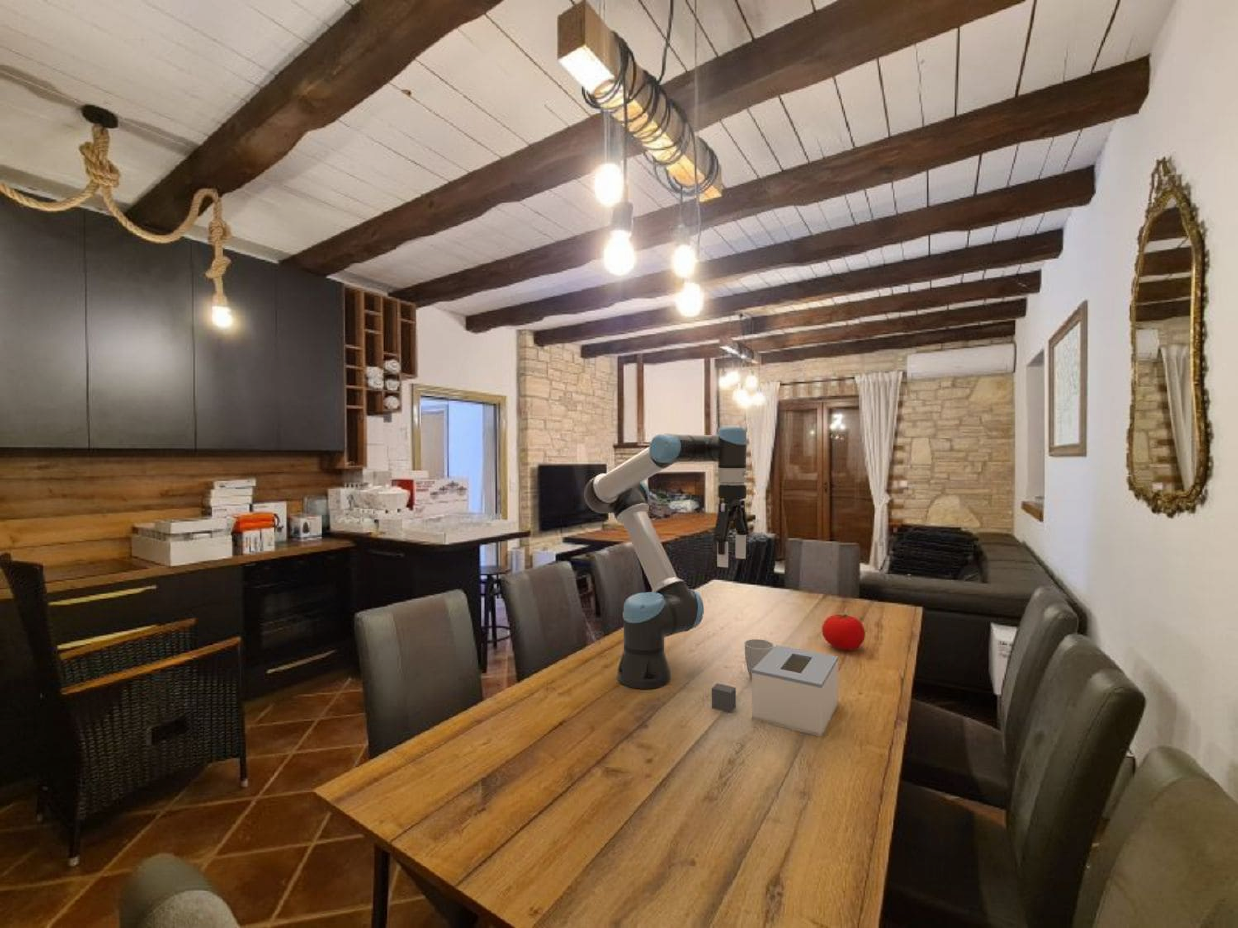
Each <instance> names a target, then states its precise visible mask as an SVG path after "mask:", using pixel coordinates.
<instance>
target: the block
mask: <svg viewBox="0 0 1238 928" xmlns="http://www.w3.org/2000/svg"><path fill="white" fill-rule="evenodd" d="M736 688H737V687H735V686H731V685H726V684H722V683H719V682H718V683H715V685H713V686H712V687H711V709H714V710H718V711H723V712H726V713H732V712H733V711H734V710H735V709H736V707H737V706H736V703H737V701H736V699H737V695H736V693H737V691H736V690H737V689H736Z"/></svg>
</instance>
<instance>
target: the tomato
mask: <svg viewBox="0 0 1238 928" xmlns="http://www.w3.org/2000/svg"><path fill="white" fill-rule="evenodd" d="M821 630H822V631H821V633H822V636H823V639H824V640H825V641H826V642H827V643H828V644H830V645H831V646H832V647H834V648H836V649H838V650H842V651H853V650H857V649H859V647H861V645H862V644H863V642H864V641H865V636H866V631H865V628H864V626H863V624H862V622H861V621H860V620H859V619H858V618H857V617H854V616H851V615H848V614H834V615H831V616H828V617H826V619H825V620H824V622H823V624H822V627H821Z"/></svg>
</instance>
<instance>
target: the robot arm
mask: <svg viewBox="0 0 1238 928" xmlns="http://www.w3.org/2000/svg"><path fill="white" fill-rule="evenodd" d="M747 447H748V442H747V430H746V428H745V427H743V426H721V427H719V428H718V430H717V434H707V435H705V434H704V435H703V434H679V433H678V434H677V433H676V434H673V433H663V434H657V435H655V436H653V437H652V439H651V441H650V442H649V446H648V447H647V448H645V449H643V450H641V451H640V452H638V453H637V454H635V455H633V456H632V457H631V458H629V459H627V460H626V461H624V462H623V463H621V464H619V465H618V466H616V467H615V468H613V469H612V470H610V471H607V473H600V474H597V475H596V476H594V477H593V478H592V479H590V480H589V481H588V482H587V484H586V485H585V488H584V491H583V498H584V502H585V504H586V505H587V506H588V507H589V508H590V509H591V510H592V511H594V512H595V513H599V514H613V516H614V518H615V520H616V521H617V522H618V523H620V524H622V525H623V526H624V529H625V531H626V533H627V535H628V537H629V541H630V542H631V545H632V547H633V549H634V551H635V553H636V556H637V557H638V560H639V563H640V564H641V567H642V569H643V572H644V574H645V576H646V579H647V581H648V583H649V584H650V587H651V591H647V592H637V593H635V594H632V595H630V596H629V597H628V598H626V599H625V601H624V603H623V612H622V618H623V650H622V651H623V652H622V654H621V655H622V656H621V657H620V662H619V665H618V667H617V681H618V682H619V683H620V684H622V685H624V686H626V687H629V688H633V689H638V690H639V689H642V690H643V689H645V690H647V689H648V690H649V689H656V688H657V689H658V688H662V687H664V686H666V685H667V684H668V683H669V682H670V681H671V668H670V666H669V665H670V664H669V662H668V658H667V655H666V653H665V638H666V637H669V636H673V635H677V634H680V633H683V632H688V631H690V630H692V629H695V628H697V627H698V626H699V625H700V624H701V623H702V620H703V617H704V616H703V615H704V612H705V609H704V608H705V607H704V606H705V605H704V601H703V598H702V597H701V595H700V594H699V592H698V591H696V590H694V589H691V588H689V587H688V585H687V583H686V582H685V580H684V579H681V578H679V577H678V576H677V573H676V572H675V570H674V567H673V566H672V563H671V561H670V559H669V557H668V555H667V552H666V551H665V548H664V546H663V544H662V542H661V540H660V538H659V536H658V534H657V532H656V529H655V527H654V525H653V523H652V521H651V518H650V517H649V514H648V511H649V508H650V506H649V504H650V500H651V498H650V497H649V496H651V494H650V490H649V487H648V485H647V483H646V482H644V481H646V480H647V479H649V478H650V477H653V476H654V475H656V474H658V473H659V472H661V471H662V470H665V469H666V468H668V467H671V466H672V465H674V464H676V463H705V462H706V463H708V462H711V463H713V462H715V463H717V483H719V484H718V486H717V497H718V499H721V500H722V499H723V503H720V502H719V503H718V506H717V507H718V510H717V516H716V522H715V527H714V533H713V539H712V540H713V542H716V544H717V545H716V546H717V547H716V548H717V549H716V550H717V551H716V553H717V554H716V556H717V557H716V563H717V565H716V566H717V567H720V568H729V541H728V537H729V533H730V530H731V527H732V523H733V525H734V528H735V532H736V534H735V556H734V557H735V559H741V560H743V559H744V560H745V559H747V558H746V557H747V552H746V551H747V547H746V546H747V545H746V541H747V539H746V537H747V536H749V535H750V531H749V530H750V527H749V523H748V517H747V511H746V501H745V499H746V498H747V485H746V483H747V476H748V475H749V472H748V471H747V452H748V451H747Z"/></svg>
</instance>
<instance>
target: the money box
mask: <svg viewBox="0 0 1238 928" xmlns="http://www.w3.org/2000/svg"><path fill="white" fill-rule="evenodd" d="M838 704H839V656H836V655H832V654H826V653H822V652H815V651H810V650H806V649H800V648H794V647H789V646H783V645H777V644H776V645H774V648H773V649H772V650H771V651H770V652H769V653H768V654H767V655H766V656H765V657H764V658H763V659H762V660H761V661H760V662H759V663H758V664H757V665H756V666H755V667H754V668H753V669H752V680H751V705H752V706H751V720H755V721H759V722H763V723H765V724H769V725H773V726H777V727H780V728H784V729H789V730H793V731H796V732H800V733H803V734H808V735H811V736H815V737H819V738H822V737H823V735H824V732H825V731H826V729H827V726H828V724H829V723H830V720H831V718H832V717H833V714H834V712H835V710H836V708H837V706H838Z"/></svg>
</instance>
